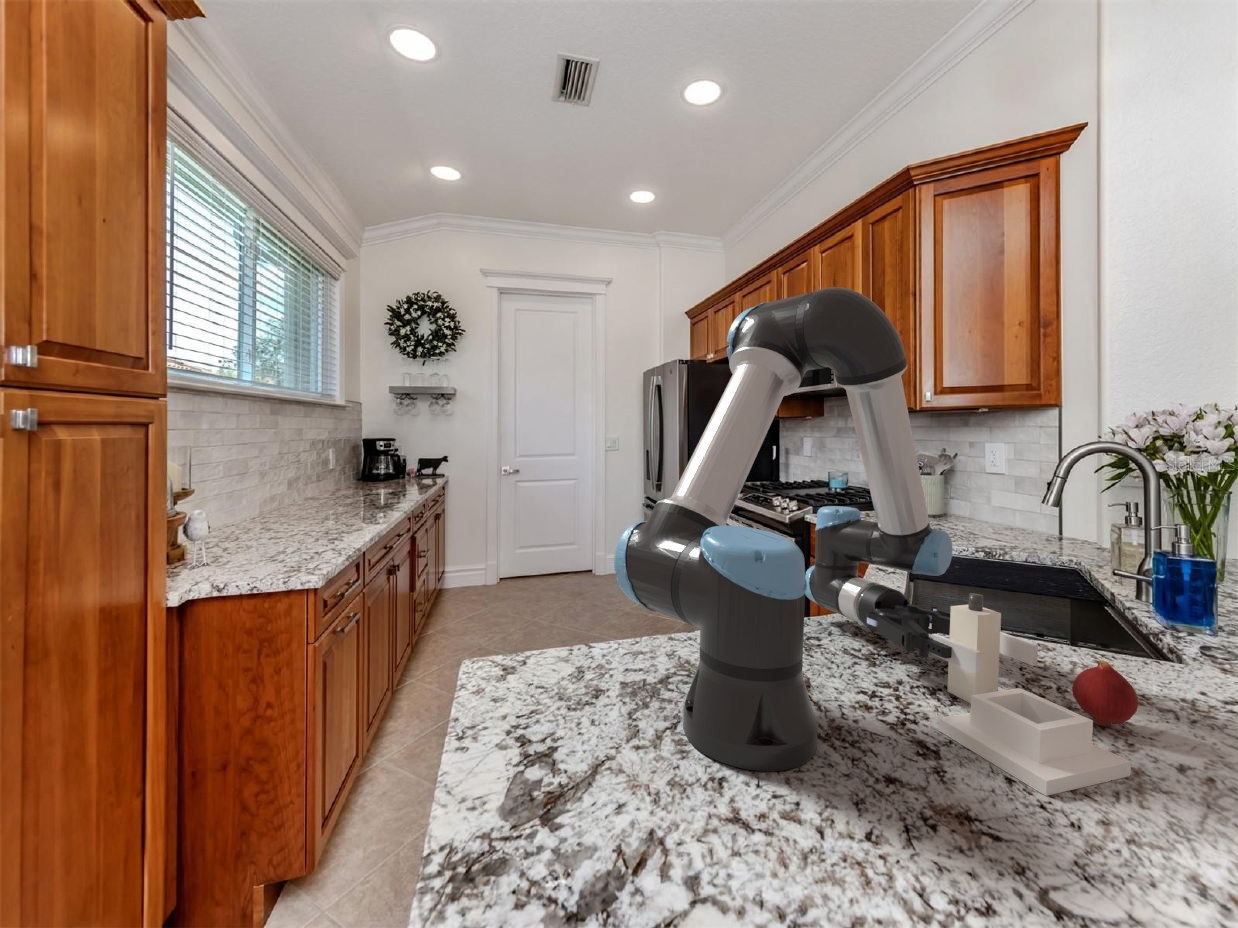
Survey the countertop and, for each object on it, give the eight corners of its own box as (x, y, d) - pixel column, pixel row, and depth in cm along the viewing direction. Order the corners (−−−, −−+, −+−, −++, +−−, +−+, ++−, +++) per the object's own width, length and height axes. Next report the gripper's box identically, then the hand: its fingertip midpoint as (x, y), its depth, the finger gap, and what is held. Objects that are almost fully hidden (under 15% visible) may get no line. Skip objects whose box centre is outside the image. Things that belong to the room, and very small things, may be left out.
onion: (1108, 714, 66) (1112, 653, 66) (1150, 740, 60) (1154, 672, 60) (1059, 711, 67) (1062, 650, 66) (1096, 736, 61) (1099, 669, 61)
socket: (938, 730, 62) (939, 689, 61) (1013, 717, 65) (1014, 678, 65) (1045, 796, 50) (1048, 745, 50) (1130, 776, 53) (1132, 728, 53)
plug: (947, 691, 72) (951, 591, 71) (969, 688, 73) (973, 590, 72) (974, 705, 68) (978, 600, 67) (997, 701, 69) (1001, 598, 68)
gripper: (924, 622, 90) (1067, 678, 69) (818, 633, 84) (939, 698, 63) (926, 580, 90) (1069, 623, 69) (820, 587, 84) (941, 637, 62)
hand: (1007, 659), depth 66 cm, fingers open, 9 cm apart
